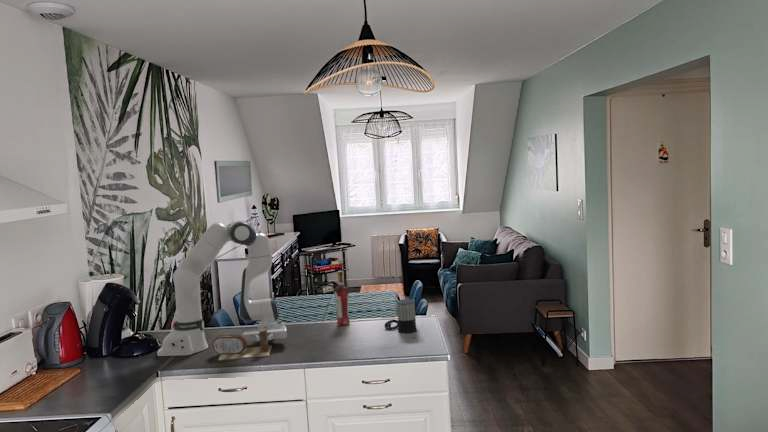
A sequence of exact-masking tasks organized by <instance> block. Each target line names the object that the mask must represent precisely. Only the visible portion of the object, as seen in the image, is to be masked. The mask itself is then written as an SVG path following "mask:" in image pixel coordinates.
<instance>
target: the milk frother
mask: <svg viewBox="0 0 768 432" xmlns="http://www.w3.org/2000/svg"><path fill="white" fill-rule="evenodd" d="M415 302H416V301H415V300H414V299H413V298H412V299H411V298H405V299H399V300H397V301H396V309H397V319H390V320H388V321H386V322H385V323H384V329H387V330H391V331H392V330H397V331H398V333H400V334H412V333H415V332H417V330H418V329H417V322H416V321H417V320H416V307H415V306H416V305H415ZM392 323H396V325H394V326H392Z"/></svg>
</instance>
